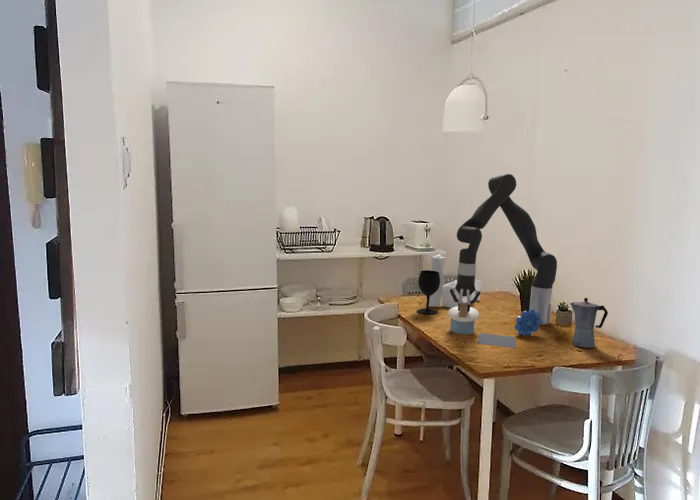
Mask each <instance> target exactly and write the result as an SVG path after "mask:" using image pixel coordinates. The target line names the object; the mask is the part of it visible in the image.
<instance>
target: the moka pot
mask: <svg viewBox="0 0 700 500" xmlns="http://www.w3.org/2000/svg"><path fill="white" fill-rule="evenodd" d="M583 299H584V300H583V301H578V302H577V301H573V302H571V303H569V304H570V305H571V309H572V311H573V314H574V321H575V323H574V325H575V328H574V332H573V336H572V337H573V338H572V345H573V346H575V347H578V348H585V349H586V348H587V349H589V348H594V347H596V343H595V341H596V340H595V331H594V330H595V329H594V328H596V329H601V328H603V325H604V323H605V320H606V319H607V316H608V314H609V312H608V310H607V308H606V307H605V305H599V304H597V303H596V304H595V303H593V302H589V298H587V297H584V298H583ZM598 311H604V313H603V315H602V318H601V320H600V321H601V322H600V323H599V325H597V324H596V317H597V312H598ZM595 324H596V325H595Z"/></svg>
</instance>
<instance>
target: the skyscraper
mask: <svg viewBox="0 0 700 500" xmlns="http://www.w3.org/2000/svg"><path fill="white" fill-rule="evenodd" d="M442 254H445V256H442ZM447 256H448V253H447V252H444V251H442V252H439V253H438V254H436V255H431V257H430V258H431V259H430V260H431V271H437V272H439V275H440V286H439V288H438V290H437V291H436V292H435V293H434V294H433V295H431V296H430V298H429V308H430V307H432V308H441V307H442V301H443V287H444V285H445V284H444V283H445V281H444V280H445V278H444V270H445V269H444V267H445V264H446V260H447V259H446V258H447Z"/></svg>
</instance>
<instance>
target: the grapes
mask: <svg viewBox="0 0 700 500" xmlns="http://www.w3.org/2000/svg"><path fill="white" fill-rule="evenodd" d="M520 315H521V316H520ZM520 315H518V316H517V317H516V318H515V321H516V324H515V325H514V330H516V331H517V332H518V335H519V336H523V335H525V336H531V335H532V334H533V333H536V332H538V331H539V326H540V324H541V323H542V320H541V319H539V318H540V316H541V314H540V313H539V312H536V313H535V310H534V309H531V310H528V311H527V310H523V311H522V312H521V314H520Z"/></svg>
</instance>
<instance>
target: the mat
mask: <svg viewBox="0 0 700 500" xmlns="http://www.w3.org/2000/svg"><path fill="white" fill-rule="evenodd" d="M477 339H478V340H477V344H480V345H488V346H496V347H504V348H512V349H516V348H517V342H516V341H517V338H516V336H511V335H510V336H509V335H508V336H507V335H501V334H492V333H482V332H480V333H479V335H478V338H477Z"/></svg>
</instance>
